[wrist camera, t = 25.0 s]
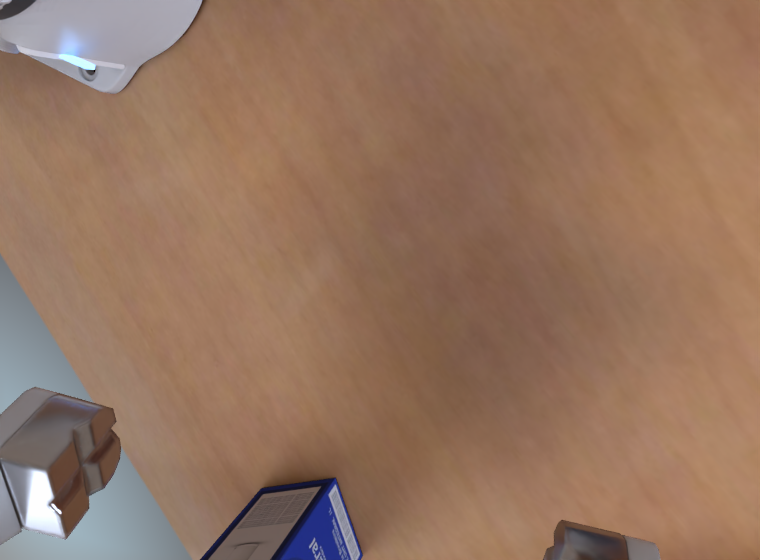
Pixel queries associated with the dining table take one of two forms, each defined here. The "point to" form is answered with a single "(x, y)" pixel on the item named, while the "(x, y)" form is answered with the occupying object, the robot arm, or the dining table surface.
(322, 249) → the dining table surface
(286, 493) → the milk carton
